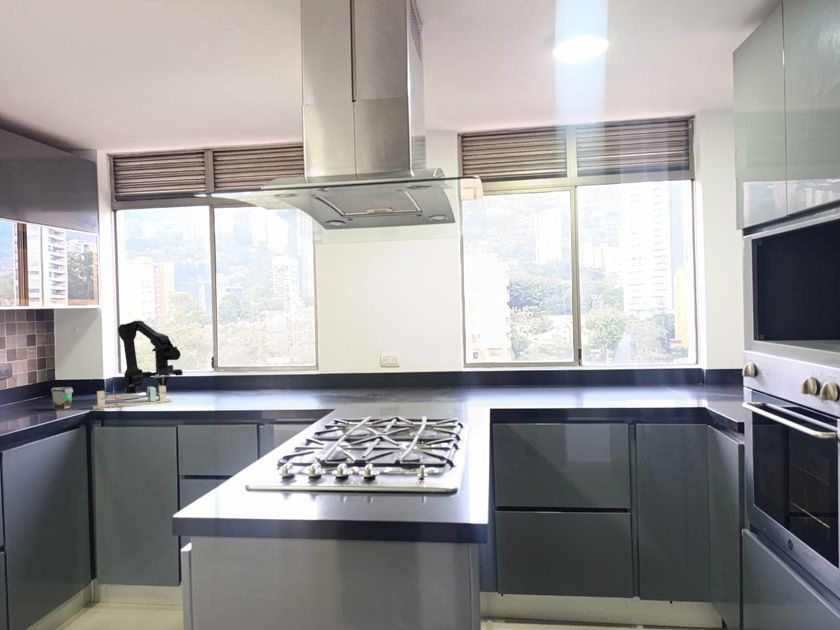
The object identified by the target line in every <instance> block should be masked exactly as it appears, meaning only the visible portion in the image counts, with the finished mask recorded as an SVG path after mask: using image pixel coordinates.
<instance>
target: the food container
mask: <svg viewBox="0 0 840 630" xmlns="http://www.w3.org/2000/svg"><path fill="white" fill-rule="evenodd" d="M73 393H74V389H73V388H72V386H60V387H59V386H58V387H52V388H51V394H52V406H53V410H57V411H58V410H59V411H60V410H61V411H67V410H71V409H72V398H73V397H72V396H73V395H72V394H73Z"/></svg>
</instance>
